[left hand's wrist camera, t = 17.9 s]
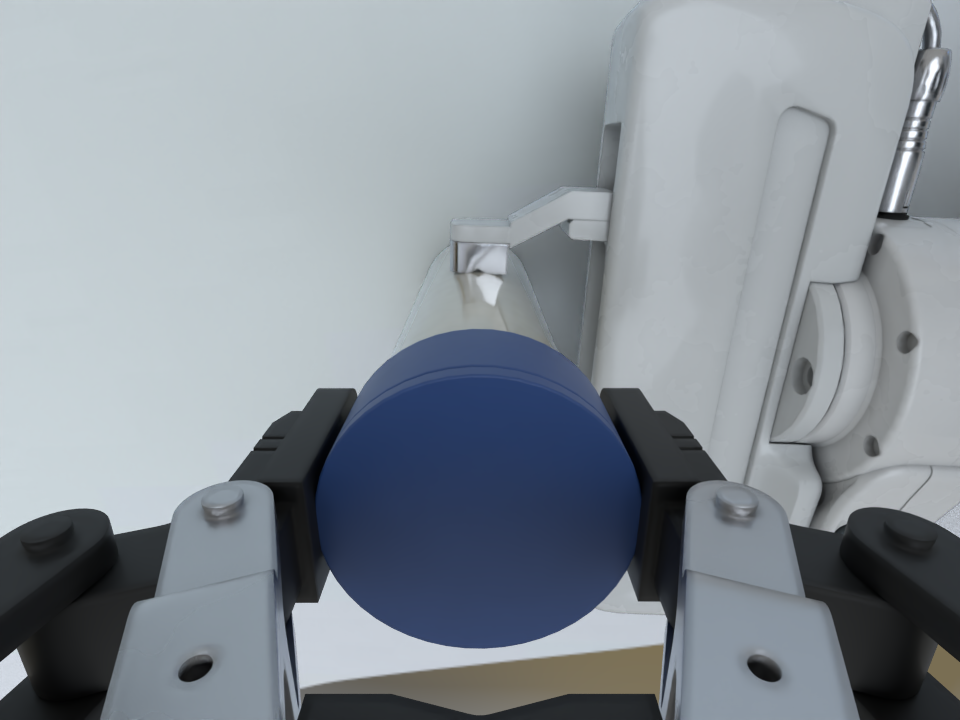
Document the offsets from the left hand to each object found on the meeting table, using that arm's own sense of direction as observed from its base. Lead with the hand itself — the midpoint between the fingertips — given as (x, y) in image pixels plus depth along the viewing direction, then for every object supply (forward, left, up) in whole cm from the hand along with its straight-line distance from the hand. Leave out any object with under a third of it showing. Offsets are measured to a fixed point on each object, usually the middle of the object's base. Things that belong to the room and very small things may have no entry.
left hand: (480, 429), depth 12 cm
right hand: (-1, 0, -7) cm, 7 cm away
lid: (0, 0, +3) cm, 3 cm away
